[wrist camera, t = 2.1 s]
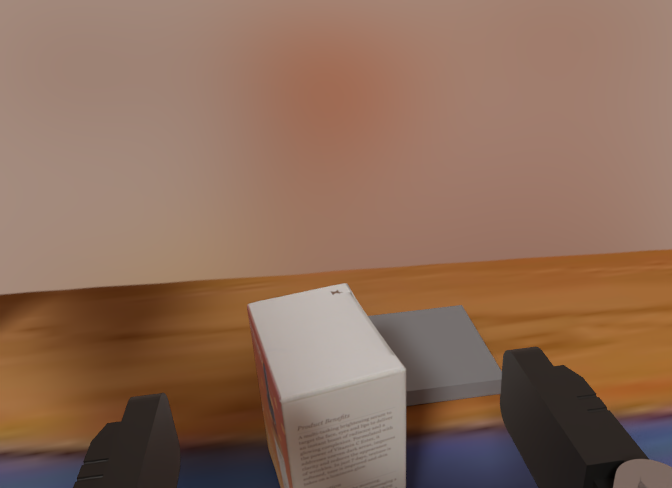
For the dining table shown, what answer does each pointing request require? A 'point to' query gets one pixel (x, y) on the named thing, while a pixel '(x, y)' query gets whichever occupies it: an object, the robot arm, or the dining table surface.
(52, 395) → the dining table surface
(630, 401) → the dining table surface
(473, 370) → the slate tile
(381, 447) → the small box
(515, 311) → the dining table surface
